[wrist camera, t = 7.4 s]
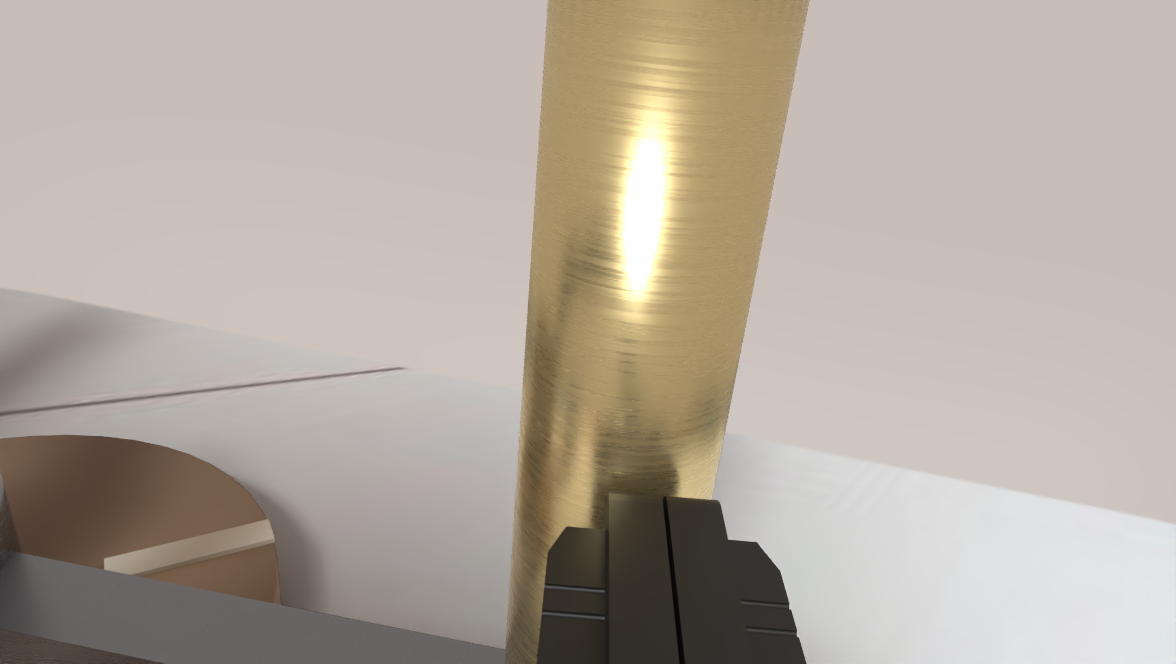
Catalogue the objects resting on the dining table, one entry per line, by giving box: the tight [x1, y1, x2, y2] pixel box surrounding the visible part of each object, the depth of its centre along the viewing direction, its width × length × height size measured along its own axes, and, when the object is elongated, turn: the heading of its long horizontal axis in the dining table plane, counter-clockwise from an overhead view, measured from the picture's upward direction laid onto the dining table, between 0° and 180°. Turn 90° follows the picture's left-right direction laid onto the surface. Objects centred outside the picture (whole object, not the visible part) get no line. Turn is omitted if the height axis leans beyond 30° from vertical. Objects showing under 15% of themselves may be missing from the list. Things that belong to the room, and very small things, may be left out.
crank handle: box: [0, 0, 809, 664], centre depth 13 cm, size 18×4×15 cm, turn 81°
